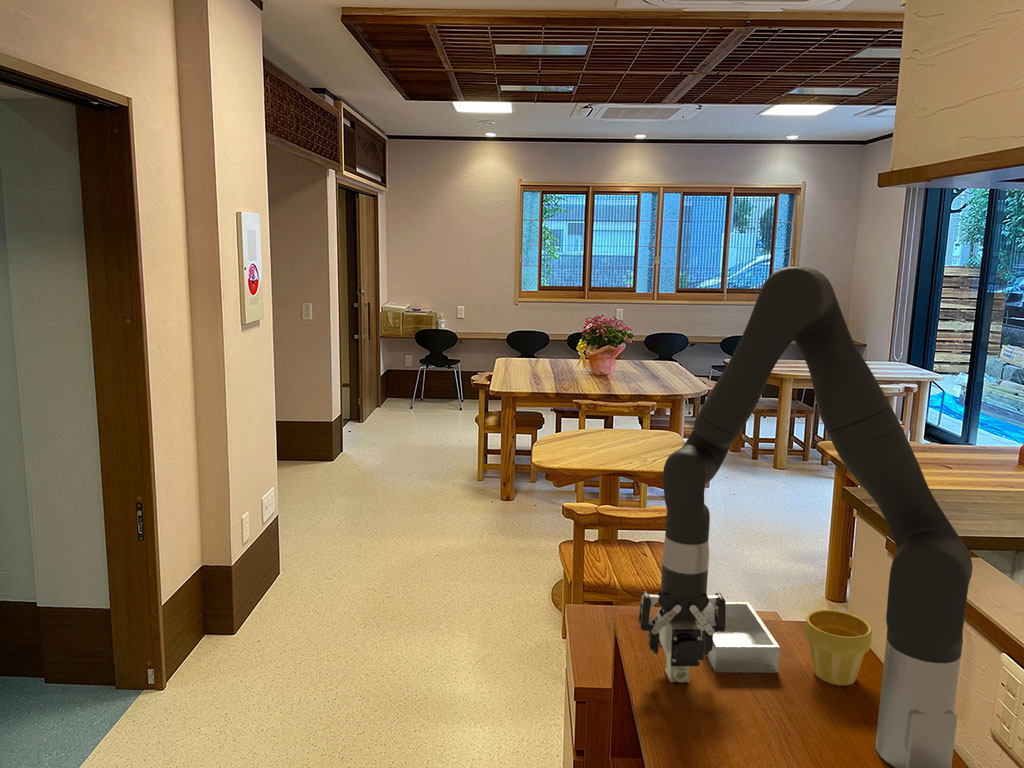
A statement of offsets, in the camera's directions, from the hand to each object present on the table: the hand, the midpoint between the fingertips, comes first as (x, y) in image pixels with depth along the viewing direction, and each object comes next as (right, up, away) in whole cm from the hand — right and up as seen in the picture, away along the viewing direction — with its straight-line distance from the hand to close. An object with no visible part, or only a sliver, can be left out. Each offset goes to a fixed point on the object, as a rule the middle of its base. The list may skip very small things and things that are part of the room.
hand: (679, 651), depth 125 cm
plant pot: (+27, -5, +2) cm, 28 cm away
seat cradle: (+12, -3, +11) cm, 16 cm away
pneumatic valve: (0, -5, +1) cm, 5 cm away
